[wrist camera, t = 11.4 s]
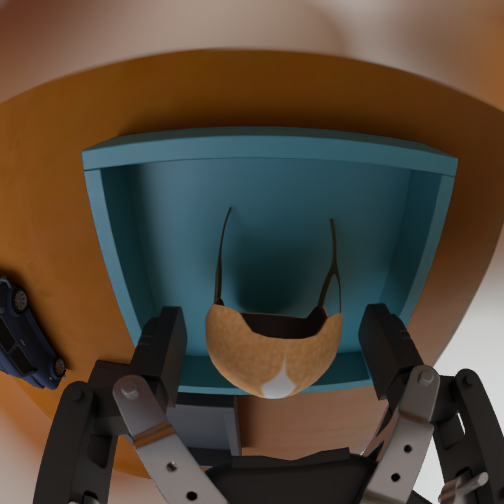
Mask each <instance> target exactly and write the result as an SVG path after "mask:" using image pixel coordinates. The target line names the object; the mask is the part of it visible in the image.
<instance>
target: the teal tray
mask: <svg viewBox="0 0 504 504" xmlns="http://www.w3.org/2000/svg"><path fill="white" fill-rule="evenodd" d="M81 155H82V161H83V168H84V170H85V171H84V175H85V181H86V187H87V192H88V197H89V202H90V207H91V211H92V216H93V220H94V224H95V228H96V232H97V236H98V240H99V244H100V248H101V251H102V255H103V258H104V262H105V265H106V268H107V272H108V275H109V278H110V281H111V284H112V287H113V290H114V293H115V296H116V299H117V302H118V305H119V308H120V310H121V313H122V316H123V318H124V321H125V324H126V326H127V329H128V331H129V334H130V336H131V339H132V341H133V344H134V346H135V348H136V346H137V345H138V341H139V338H140V337H141V332H142V330H143V327H144V325H145V324H146V323H147V322H148V321H149V320H150V318H151V317H158V318H159V316H160V313H161V310H162V307H163V306H181V307H182V310H183V315H184V320H185V325H186V329H187V347H186V352H185V357H184V362H183V367H182V373H181V378H180V383H179V389H178V392H189V393H205V394H230V395H253V394H250V393H248V392H246V391H244V390H242V389H240V388H238V387H237V386H235V385H233V384H232V383H231V382H230V381H228V380H227V379H226V378H225V377H224V376H223V375H222V374H221V373H220V372H219V371H218V369H217V368H216V367H215V365H214V364H213V362H212V360H211V358H210V355H209V353H208V350H207V346H206V337H205V317H206V315H207V313H208V311H209V309H210V307H211V306H212V304H213V302H214V293H215V274H216V268H217V262H218V254H219V247H220V241H221V235H222V230H223V225H224V221H225V218H226V215H227V213H228V210H229V208H230V207H231V211H230V214H229V217H228V219H227V223H226V226H225V231H224V236H223V242H222V250H221V261H222V290H221V299H222V300H223V302H224V306H225V307H229V308H231V309H233V310H235V311H237V312H243V313H263V314H276V315H286V316H294V317H301V318H307V317H308V315H309V314H310V313H311V312H312V310H313V309H314V308H315V307H316V306H317V305H318V301H319V297H320V293H321V289H322V286H323V283H324V281H325V278H326V276H327V274H328V272H329V270H330V267H331V264H332V258H333V239H332V230H331V225H330V219H332V218H333V221H334V225H335V231H336V243H337V266H338V271H339V276H340V285H341V313H342V319H343V323H342V334H341V339H340V344H339V347H338V350H337V353H336V356H335V358H334V360H333V361H332V363H331V365H330V366H329V368H328V369H327V370H326V372H325V373H324V374H323V375H322V376H321V377H320V378H319V379H318V380H317V381H316V382H314V383H313V384H312V385H310V386H309V387H307V388H306V389H304V390H302V391H300V392H298V393H308V392H320V391H330V390H339V389H348V388H355V387H362V386H369V385H373V382H372V378H371V375H370V372H369V369H368V366H367V363H366V360H365V358H364V355H363V352H362V349H361V346H360V343H359V339H358V330H359V326H360V323H361V320H362V317H363V314H364V311H365V308H366V306H367V305H368V304H375V303H385V304H386V306H387V308H388V310H389V312H390V314H395V315H397V316H398V317H399V318H400V319H401V320H402V321H403V323H404V325H405V327H406V326H407V324H408V322H409V320H410V318H411V315H412V313H413V311H414V308H415V306H416V304H417V301H418V299H419V296H420V294H421V291H422V289H423V286H424V284H425V281H426V278H427V276H428V273H429V270H430V267H431V264H432V262H433V259H434V256H435V253H436V249H437V246H438V243H439V240H440V237H441V233H442V230H443V226H444V223H445V219H446V215H447V211H448V207H449V203H450V199H451V195H452V190H453V185H454V180H455V177H454V176H455V175H456V170H457V165H458V159H457V158H456V157H453V156H451V155H449V154H447V153H444V152H442V151H440V150H437V149H435V148H432V147H430V146H427V145H425V144H423V143H419V142H414V141H408V140H403V139H397V138H391V137H385V136H378V135H371V134H364V133H356V132H347V131H337V130H326V129H313V128H296V127H265V126H238V127H207V128H190V129H177V130H166V131H156V132H147V133H139V134H132V135H125V136H118V137H114V138H111V139H109V140H106V141H104V142H101V143H99V144H96V145H94V146H92V147H89V148H87V149H85V150H83V151H81ZM217 284H218V281H217ZM323 306H324V307H325V308H326V310H327V312H328V315H329V316H331V315H334V314H338V313H340V299H339V284H338V280H337V277H336V275H335V274H334V275H333V276H332V279H331V281H330V284H329V287H328V290H327V293H326V296H325V300H324V305H323Z"/></svg>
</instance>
